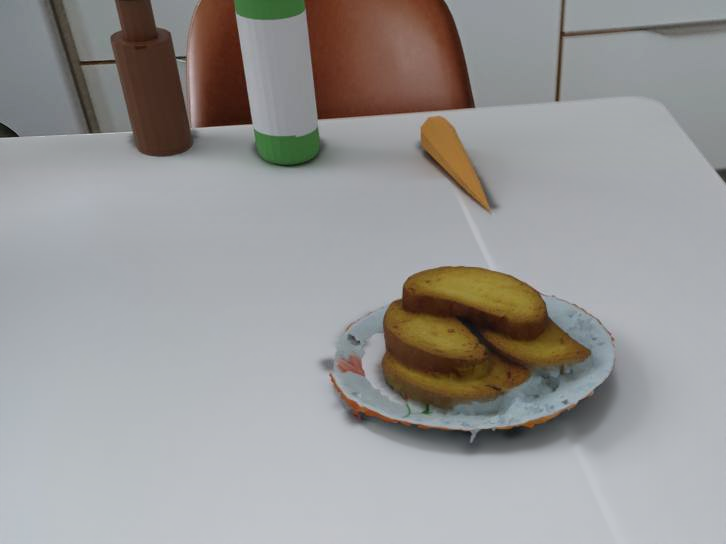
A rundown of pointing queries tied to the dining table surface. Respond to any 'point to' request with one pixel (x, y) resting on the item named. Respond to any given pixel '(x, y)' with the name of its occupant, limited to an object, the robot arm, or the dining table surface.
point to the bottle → (150, 81)
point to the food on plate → (475, 353)
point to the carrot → (451, 155)
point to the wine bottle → (279, 78)
